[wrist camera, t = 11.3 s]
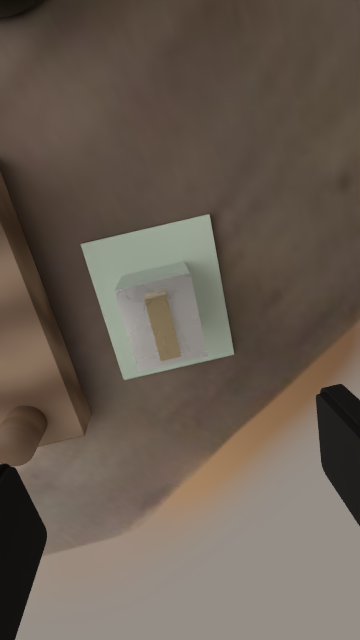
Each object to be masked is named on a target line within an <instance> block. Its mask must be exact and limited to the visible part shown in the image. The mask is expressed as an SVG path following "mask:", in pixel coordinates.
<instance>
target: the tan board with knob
mask: <svg viewBox="0 0 360 640" xmlns="http://www.w3.org/2000/svg"><path fill="white" fill-rule="evenodd" d="M90 417H91V412H90V410H89V407H88V404H87V402H86V399H85V396H84V394H83V391H82V388H81V386H80V383H79V380H78V378H77V375H76V372H75V369H74V367H73V364H72V361H71V359H70V356H69V353H68V351H67V348H66V345H65V343H64V340H63V337H62V335H61V332H60V329H59V327H58V324H57V321H56V319H55V316H54V313H53V311H52V308H51V305H50V303H49V300H48V297H47V295H46V292H45V289H44V287H43V284H42V281H41V279H40V276H39V273H38V271H37V268H36V265H35V262H34V260H33V257H32V254H31V252H30V249H29V246H28V244H27V241H26V238H25V236H24V233H23V230H22V228H21V225H20V222H19V220H18V217H17V214H16V212H15V209H14V206H13V204H12V201H11V198H10V196H9V193H8V190H7V188H6V185H5V182H4V180H3V177H2V174H1V172H0V463H1V464H4V463H6V464H8V465H10V466H19V465H23V464H25V463H27V462H28V461H30V460H31V458H32V457H33V455H34V453H35V451H36V449H37V447H39V446H43V445H47V444H51V443H56V442H60V441H64V440H69V439H73V438H77V437H82V436H85V433H86V430H87V426H88V423H89V420H90Z"/></svg>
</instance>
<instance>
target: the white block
mask: <svg viewBox="0 0 360 640" xmlns="http://www.w3.org/2000/svg"><path fill="white" fill-rule="evenodd" d="M114 292H115V296H116V299H117V302H118V306H119V309H120V312H121V316H122V319H123V323H124V326H125V329H126V333H127V336H128V339H129V343H130V346H131V349H132V353H133V356H134V360H135V363H136V366H137V370H138V372H140V371H145V370H149V369H153V368H158V367H162V366H166V365H171V364H175V363H179V362H183V361H188V360H192V359H196V358H201V357H205V356H208V355H207V350H206V346H205V341H204V336H203V331H202V326H201V322H200V317H199V312H198V307H197V302H196V298H195V293H194V288H193V283H192V278H191V274H190V272H189V270H188V268H187V266H186V265H185V263H184V261H183V262H178V263H174V264H170V265H166V266H161V267H157V268H153V269H148V270H144V271H140V272H135V273H131V274H127V275H122V276H121V278H120V280H119V282H118V284H117V286H116V288H115V290H114Z"/></svg>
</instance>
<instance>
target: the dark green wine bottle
mask: <svg viewBox="0 0 360 640" xmlns="http://www.w3.org/2000/svg"><path fill="white" fill-rule="evenodd" d="M36 1H38V0H0V18H1V17H6V16H11V15H15V14H18V13H19V12H21V11H23V10H25V9H27V8H29V7H31V6H32V5H33V4H34V3H35V2H36Z"/></svg>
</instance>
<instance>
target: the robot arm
mask: <svg viewBox="0 0 360 640" xmlns="http://www.w3.org/2000/svg"><path fill="white" fill-rule="evenodd" d="M316 405H317V417H318V429H319V440H320V452H321V462H322V467H323V470H324V472H325V474H326V476H327V477H328V479H329V480H330V482H331V483H332V485H333V486H334V488H335V489H336V491H337V492H338V494H339V495H340V497H341V499H342V500H343V502H344V503H345V504H346V506H347V508H348V509H349V511H350V512H351V514H352V515H353V517H354V518H355V520H356V521H357V523H358V524H359V526H360V400H359V399H358V398H357V397H356V396H355V395H353V394H352V393H351V392H350V391H349V390H348V389H347V388H346V387H345V386H343V385H342V384H338V385H333V386H329V387H325V388H322V389H321V392H320V394H317V395H316ZM46 540H47V531H46V528H45V526H44V524H43V522H42V520H41V518H40V516H39V514H38V512H37V510H36V508H35V506H34V504H33V502H32V500H31V498H30V496H29V494H28V492H27V490H26V488H25V486H24V484H23V482H22V480H21V478H20V476H19V474H18V472H17V470H16V469H15V468H14V467H10V465H8V464H6V463H4V464H0V640H15V638H16V634H17V631H18V628H19V625H20V622H21V619H22V616H23V612H24V610H25V606H26V603H27V600H28V597H29V594H30V591H31V588H32V585H33V581H34V578H35V575H36V572H37V569H38V566H39V563H40V560H41V557H42V554H43V550H44V547H45V544H46Z"/></svg>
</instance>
